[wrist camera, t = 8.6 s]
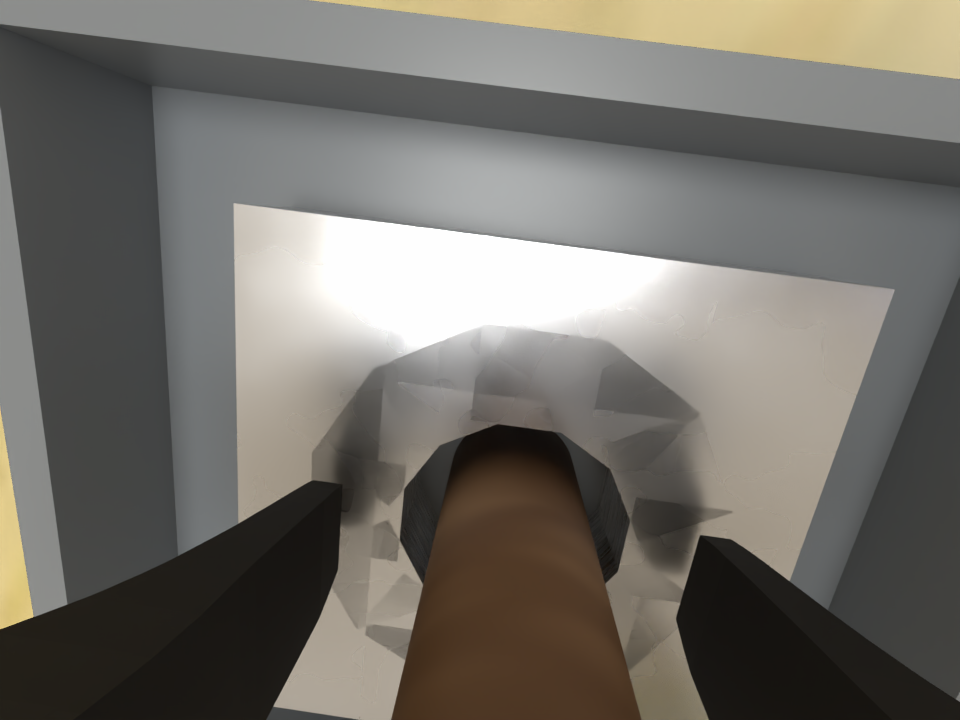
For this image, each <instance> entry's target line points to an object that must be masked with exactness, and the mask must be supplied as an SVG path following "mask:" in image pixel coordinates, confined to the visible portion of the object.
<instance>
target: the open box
mask: <svg viewBox="0 0 960 720" xmlns="http://www.w3.org/2000/svg"><path fill="white" fill-rule="evenodd" d="M234 203H238V204H251V205H264V206H278V207H291V208H299V209H307V210H314V211H322V212H330V213H337V214H345V215H353V216H360V217H368V218H376V219H383V220H391V221H399V222H406V223H414V224H422V225H429V226H437V227H445V228H452V229H460V230H468V231H475V232H483V233H491V234H498V235H506V236H514V237H521V238H529V239H537V240H544V241H552V242H560V243H568V244H575V245H583V246H591V247H598V248H606V249H614V250H621V251H629V252H637V253H644V254H652V255H660V256H667V257H675V258H683V259H690V260H698V261H706V262H713V263H721V264H729V265H736V266H744V267H752V268H759V269H767V270H775V271H782V272H790V273H798V274H805V275H812V276H818V277H824V278H830V279H836V280H842V281H848V282H854V283H860V284H866V285H871V286H877V287H883V288H889V289H895V291H894V294H893V296H892V299H891V302H890V305H889V307H888V310H887V313H886V316H885V318H884V321H883V324H882V327H881V329H880V332H879V335H878V338H877V341H876V343H875V346H874V349H873V352H872V354H871V357H870V360H869V363H868V365H867V368H866V371H865V374H864V377H863V379H862V382H861V385H860V388H859V390H858V393H857V396H856V399H855V401H854V404H853V407H852V410H851V413H850V415H849V418H848V421H847V424H846V426H845V429H844V432H843V435H842V437H841V440H840V443H839V446H838V448H837V451H836V454H835V457H834V460H833V462H832V465H831V468H830V471H829V473H828V476H827V479H826V482H825V484H824V487H823V490H822V493H821V496H820V498H819V501H818V504H817V507H816V509H815V512H814V515H813V518H812V520H811V523H810V526H809V529H808V532H807V534H806V537H805V540H804V543H803V545H802V548H801V551H800V554H799V556H798V559H797V562H796V565H795V567H794V570H793V573H792V576H791V579H790V582H791V583H793V584H794V585H795V586H797V587H798V588H799V589H800V590H802V591H803V592H804V593H806V594H807V595H808V596H810V597H811V598H812V599H814V600H815V601H816V602H818V603H819V604H820V605H822V606H823V607H824V608H826V609H827V610H828V611H830V612H831V613H832V614H834V615H835V616H836V617H838V618H839V619H840V620H842V621H843V622H844V623H846V624H847V625H849V626H850V627H851V628H853V629H854V630H855V631H857V632H858V633H860V634H861V635H862V636H864V637H865V638H866V639H868V640H869V641H871V642H872V643H873V644H875V645H876V646H878V647H879V648H881V649H882V650H883V651H885V652H886V653H888V654H889V655H891V656H892V657H894V658H895V659H896V660H898V661H899V662H901V663H902V664H904V665H905V666H906V667H908V668H909V669H911V670H912V671H914V672H915V673H917V674H918V675H919V676H921V677H922V678H924V679H926V680H927V681H929V682H930V683H932V684H933V685H935V686H936V687H938V688H939V689H941V690H942V691H944V692H945V693H947V694H948V695H950V696H952V697H953V698H955V699H956V700H958V701H959V702H960V79H952V78H944V77H936V76H928V75H919V74H911V73H903V72H895V71H886V70H878V69H870V68H862V67H854V66H845V65H837V64H829V63H821V62H812V61H804V60H796V59H788V58H779V57H771V56H763V55H755V54H747V53H738V52H730V51H722V50H714V49H705V48H697V47H689V46H681V45H672V44H664V43H656V42H648V41H640V40H631V39H623V38H615V37H607V36H598V35H590V34H582V33H574V32H565V31H557V30H549V29H541V28H533V27H524V26H516V25H508V24H500V23H491V22H483V21H475V20H467V19H458V18H450V17H442V16H434V15H426V14H417V13H409V12H401V11H393V10H384V9H376V8H368V7H360V6H351V5H343V4H335V3H327V2H319V1H310V0H0V408H1V415H2V421H3V427H4V433H5V440H6V446H7V452H8V458H9V465H10V471H11V477H12V483H13V490H14V496H15V502H16V508H17V515H18V521H19V527H20V534H21V540H22V546H23V552H24V559H25V565H26V571H27V577H28V584H29V590H30V596H31V602H32V609H33V615H34V617H35V616H38V615H41V614H43V613H46V612H49V611H51V610H54V609H57V608H59V607H62V606H65V605H67V604H70V603H73V602H75V601H78V600H81V599H83V598H86V597H88V596H91V595H93V594H96V593H98V592H100V591H103V590H105V589H107V588H110V587H112V586H114V585H117V584H119V583H121V582H123V581H126V580H128V579H130V578H133V577H135V576H137V575H139V574H142V573H144V572H146V571H148V570H150V569H152V568H154V567H157V566H159V565H161V564H163V563H165V562H167V561H169V560H171V559H173V558H175V557H177V556H179V555H181V554H183V553H185V552H186V551H188V550H190V549H192V548H194V547H196V546H198V545H200V544H202V543H203V542H205V541H207V540H209V539H211V538H213V537H215V536H217V535H219V534H220V533H222V532H224V531H226V530H228V529H230V528H231V527H233V526H235V525H237V524H238V463H237V398H236V332H235V266H234ZM555 433H556V434H557V435H558V436H559V437H560V438H561V439H562V440H563V442H564V443H565V445H566V446H567V448H568V451H569V453H570V456H571V459H572V462H573V466H574V470H575V473H576V477H577V481H578V485H579V488H580V492H581V496H582V499H583V503H584V507H585V511H586V514H587V517H588V516H589V515H590V514H591V513H592V512H593V511H594V510H595V509H596V508H597V507H598V503H599V498H600V493H601V489H602V484H603V480H604V475H605V471H606V466H605V465H604V464H603V463H601V462H600V461H599V460H597V459H596V458H595V457H593V456H592V455H591V454H589V453H588V452H587V451H585V450H584V449H582V448H581V447H580V446H578V445H577V444H576V443H574V442H573V441H572V440H570V439H569V438H568V437H566V436H565V435H564V434H562V433H560V432H555ZM464 437H465V436H463V437H461V438H458V439H455V440H452V441H450V442H447V443H444V444H442V445H439V447H438V448H437V449H436V450H435V452H434V453H433V454H432V455H431V456H430V458H429V459H428V460H427V461H426V463H425V464H424V465H423V466H422V467H421V473H420V484H421V486H422V488H423V490H424V492H425V494H426V496H427V498H428V500H429V502H430V504H431V506H432V508H433V510H434V512H435V514H436V516H437V518H438V520H439V516H440V512H441V508H442V503H443V499H444V495H445V491H446V486H447V482H448V478H449V474H450V470H451V465H452V461H453V457H454V454H455V451H456V449H457V447H458V445H459V444H460V442H461V441H462V439H463V438H464ZM266 720H358V719H352V718H345V717H338V716H332V715H325V714H319V713H312V712H305V711H299V710H292V709H286V708H279V707H273V708H272V710H271V712H270V714H269V716H268V718H267V719H266Z"/></svg>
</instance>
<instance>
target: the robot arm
mask: <svg viewBox="0 0 960 720" xmlns="http://www.w3.org/2000/svg"><path fill="white" fill-rule="evenodd" d="M342 486H343V484H338V483H331V482H324V481H317V480H312V481H310V482H308V483H306V484H304V485H303V486H301V487H299V488H298V489H296V490H294V491H292V492H291V493H289V494H287V495H286V496H284V497H282V498H281V499H279V500H277V501H276V502H274V503H272V504H271V505H269V506H267V507H266V508H264V509H262V510H261V511H259V512H257V513H255V514H254V515H252V516H250V517H249V518H247V519H245V520H244V521H242V522H240V523H238V524H237V525H235V526H233V527H231V528H230V529H228V530H226V531H224V532H222V533H220V534H219V535H217V536H215V537H213V538H211V539H209V540H207V541H205V542H203V543H202V544H200V545H198V546H196V547H194V548H192V549H190V550H188V551H186V552H185V553H183V554H181V555H179V556H177V557H175V558H173V559H171V560H169V561H167V562H165V563H163V564H161V565H159V566H157V567H154V568H152V569H150V570H148V571H146V572H144V573H142V574H139V575H137V576H135V577H133V578H130V579H128V580H126V581H123V582H121V583H119V584H117V585H114V586H112V587H110V588H107V589H105V590H103V591H100V592H98V593H96V594H93V595H91V596H88V597H86V598H83V599H81V600H78V601H75V602H73V603H70V604H67V605H65V606H62V607H59V608H57V609H54V610H51V611H49V612H46V613H43V614H41V615H38V616H35V617H33V618H30V619H27V620H25V621H22V622H19V623H17V624H14V625H11V626H9V627H6V628H3V629H0V720H266V719H267V718H268V716H269V714H270V712H271V710H272V708H273V706H274V704H275V702H276V700H277V699H278V697H279V695H280V693H281V691H282V689H283V687H284V685H285V683H286V681H287V680H288V678H289V676H290V674H291V672H292V670H293V668H294V666H295V664H296V663H297V661H298V659H299V657H300V655H301V653H302V651H303V649H304V647H305V645H306V643H307V641H308V639H309V638H310V636H311V634H312V632H313V630H314V628H315V626H316V624H317V622H318V620H319V618H320V616H321V613H322V611H323V608H324V605H325V603H326V600H327V598H328V595H329V593H330V590H331V587H332V585H333V582H334V579H335V577H336V574H337V571H338V563H339V544H340V525H341V505H342ZM676 622H677V626H678V630H679V634H680V637H681V641H682V645H683V649H684V653H685V656H686V660H687V663H688V667H689V670H690V673H691V676H692V679H693V681H694V684H695V686H696V689H697V691H698V694H699V696H700V699H701V701H702V704H703V706H704V709H705V711H706V714H707V716H708V719H709V720H960V702H959V701H958V700H956V699H955V698H953V697H952V696H950V695H948V694H947V693H945V692H944V691H942V690H941V689H939V688H938V687H936V686H935V685H933V684H932V683H930V682H929V681H927V680H926V679H924V678H922V677H921V676H919V675H918V674H917V673H915V672H914V671H912V670H911V669H909V668H908V667H906V666H905V665H904V664H902V663H901V662H899V661H898V660H896V659H895V658H894V657H892V656H891V655H889V654H888V653H886V652H885V651H883V650H882V649H881V648H879V647H878V646H876V645H875V644H873V643H872V642H871V641H869V640H868V639H866V638H865V637H864V636H862V635H861V634H860V633H858V632H857V631H855V630H854V629H853V628H851V627H850V626H849V625H847V624H846V623H844V622H843V621H842V620H840V619H839V618H838V617H836V616H835V615H834V614H832V613H831V612H830V611H828V610H827V609H826V608H824V607H823V606H822V605H820V604H819V603H818V602H816V601H815V600H814V599H812V598H811V597H810V596H808V595H807V594H806V593H804V592H803V591H802V590H800V589H799V588H798V587H797V586H795V585H794V584H793V583H791V582H790V581H789V580H787V579H786V578H785V577H783V576H782V575H781V574H779V573H778V572H777V571H775V570H774V569H773V568H771V567H770V566H769V565H767V564H766V563H765V562H763V561H762V560H761V559H759V558H758V557H757V556H755V555H754V554H752V553H751V552H750V551H748V550H747V549H745V548H744V547H742V546H741V545H739V544H738V543H736V542H735V541H733V540H731V539H726V538H719V537H712V536H705V535H700V537H699V540H698V544H697V547H696V550H695V554H694V557H693V561H692V564H691V568H690V571H689V575H688V578H687V581H686V585H685V588H684V592H683V595H682V599H681V602H680V606H679V609H678V612H677V616H676Z"/></svg>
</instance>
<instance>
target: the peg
mask: <svg viewBox="0 0 960 720" xmlns="http://www.w3.org/2000/svg"><path fill="white" fill-rule="evenodd" d="M391 720H641V716H640V712H639V709H638V705H637V701H636V697H635V694H634V690H633V686H632V683H631V679H630V675H629V671H628V668H627V664H626V660H625V656H624V653H623V649H622V645H621V641H620V638H619V634H618V630H617V627H616V623H615V619H614V615H613V612H612V608H611V604H610V600H609V597H608V593H607V589H606V585H605V582H604V578H603V574H602V570H601V567H600V563H599V559H598V556H597V552H596V548H595V544H594V541H593V537H592V533H591V529H590V526H589V522H588V518H587V514H586V511H585V507H584V503H583V499H582V496H581V492H580V488H579V485H578V481H577V477H576V473H575V470H574V466H573V462H572V459H571V456H570V453H569V451H568V448H567V446H566V445H565V443H564V442H563V440H562V439H561V438H560V437H559V436H558V435H557V434H556V433H555V432H552V431H545V430H538V429H531V428H524V427H516V426H509V425H502V424H496V425H493V426H491V427H488V428H485V429H482V430H480V431H477V432H474V433H472V434H469V435H466V436H465V437H464V438H463V439H462V441H461V442H460V444H459V445H458V447H457V449H456V451H455V454H454V457H453V461H452V465H451V470H450V474H449V478H448V482H447V486H446V491H445V495H444V499H443V503H442V508H441V512H440V516H439V520H438V524H437V529H436V533H435V537H434V541H433V545H432V550H431V554H430V558H429V562H428V566H427V571H426V575H425V579H424V583H423V587H422V592H421V596H420V600H419V604H418V609H417V613H416V617H415V621H414V625H413V630H412V634H411V638H410V642H409V646H408V651H407V655H406V659H405V663H404V667H403V672H402V676H401V680H400V684H399V688H398V693H397V697H396V701H395V705H394V710H393V714H392V718H391Z"/></svg>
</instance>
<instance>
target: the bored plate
mask: <svg viewBox="0 0 960 720" xmlns="http://www.w3.org/2000/svg"><path fill="white" fill-rule="evenodd" d="M234 266H235V332H236V398H237V463H238V523H240V522H242V521H244V520H245V519H247V518H249V517H250V516H252V515H254V514H255V513H257V512H259V511H261V510H262V509H264V508H266V507H267V506H269V505H271V504H272V503H274V502H276V501H277V500H279V499H281V498H282V497H284V496H286V495H287V494H289V493H291V492H292V491H294V490H296V489H298V488H299V487H301V486H303V485H304V484H306V483H308V482H310V481H312V480H317V481H324V482H331V483H338V484H343V486H342V505H341V525H340V544H339V563H338V571H337V574H336V577H335V579H334V582H333V585H332V587H331V590H330V593H329V595H328V598H327V600H326V603H325V605H324V608H323V611H322V613H321V616H320V618H319V620H318V622H317V624H316V626H315V628H314V630H313V632H312V634H311V636H310V638H309V639H308V641H307V643H306V645H305V647H304V649H303V651H302V653H301V655H300V657H299V659H298V661H297V663H296V664H295V666H294V668H293V670H292V672H291V674H290V676H289V678H288V680H287V681H286V683H285V685H284V687H283V689H282V691H281V693H280V695H279V697H278V699H277V700H276V702H275V704H274V706H273V707H279V708H286V709H292V710H299V711H305V712H312V713H319V714H325V715H332V716H338V717H345V718H352V719H358V720H391V718H392V714H393V710H394V705H395V701H396V697H397V693H398V688H399V684H400V680H401V676H402V672H403V667H404V663H405V659H406V655H407V651H408V646H409V642H410V638H411V634H412V630H413V625H414V621H415V617H416V613H417V609H418V604H419V600H420V596H421V592H422V587H423V583H424V579H425V575H426V571H427V566H428V562H429V558H430V554H431V550H432V545H433V541H434V537H435V533H436V529H437V524H438V518H437V516H436V514H435V512H434V510H433V508H432V506H431V504H430V502H429V500H428V498H427V496H426V494H425V492H424V490H423V488H422V486H421V484H420V473H421V467H422V466H423V465H424V464H425V463H426V461H427V460H428V459H429V458H430V456H431V455H432V454H433V453H434V452H435V450H436V449H437V448H438V447H439V445H442V444H444V443H447V442H450V441H452V440H455V439H458V438H461V437H463V436H466V435H469V434H472V433H474V432H477V431H480V430H482V429H485V428H488V427H491V426H493V425H496V424H502V425H509V426H516V427H524V428H531V429H538V430H545V431H552V432H560V433H562V434H564V435H565V436H566V437H568V438H569V439H570V440H572V441H573V442H574V443H576V444H577V445H578V446H580V447H581V448H582V449H584V450H585V451H587V452H588V453H589V454H591V455H592V456H593V457H595V458H596V459H597V460H599V461H600V462H601V463H603V464H604V465H605V466H606V471H605V475H604V480H603V484H602V489H601V493H600V498H599V503H598V507H597V508H596V509H595V510H594V511H593V512H592V513H591V514H590V515H589V516H588V517H587V518H588V522H589V526H590V529H591V533H592V537H593V541H594V544H595V548H596V552H597V556H598V559H599V563H600V567H601V570H602V574H603V578H604V582H605V585H606V589H607V593H608V597H609V600H610V604H611V608H612V612H613V615H614V619H615V623H616V627H617V630H618V634H619V638H620V641H621V645H622V649H623V653H624V656H625V660H626V664H627V668H628V671H629V675H630V679H631V683H632V686H633V690H634V694H635V697H636V701H637V705H638V709H639V712H640V716H641V720H709V719H708V716H707V714H706V711H705V709H704V706H703V704H702V701H701V699H700V696H699V694H698V691H697V689H696V686H695V684H694V681H693V679H692V676H691V673H690V670H689V667H688V663H687V660H686V656H685V653H684V649H683V645H682V641H681V637H680V634H679V630H678V626H677V622H676V616H677V612H678V609H679V606H680V602H681V599H682V595H683V592H684V588H685V585H686V581H687V578H688V575H689V571H690V568H691V564H692V561H693V557H694V554H695V550H696V547H697V544H698V540H699V537H700V535H705V536H712V537H719V538H726V539H731V540H733V541H735V542H736V543H738V544H739V545H741V546H742V547H744V548H745V549H747V550H748V551H750V552H751V553H752V554H754V555H755V556H757V557H758V558H759V559H761V560H762V561H763V562H765V563H766V564H767V565H769V566H770V567H771V568H773V569H774V570H775V571H777V572H778V573H779V574H781V575H782V576H783V577H785V578H786V579H787V580H789V581H790V579H791V576H792V573H793V570H794V567H795V565H796V562H797V559H798V556H799V554H800V551H801V548H802V545H803V543H804V540H805V537H806V534H807V532H808V529H809V526H810V523H811V520H812V518H813V515H814V512H815V509H816V507H817V504H818V501H819V498H820V496H821V493H822V490H823V487H824V484H825V482H826V479H827V476H828V473H829V471H830V468H831V465H832V462H833V460H834V457H835V454H836V451H837V448H838V446H839V443H840V440H841V437H842V435H843V432H844V429H845V426H846V424H847V421H848V418H849V415H850V413H851V410H852V407H853V404H854V401H855V399H856V396H857V393H858V390H859V388H860V385H861V382H862V379H863V377H864V374H865V371H866V368H867V365H868V363H869V360H870V357H871V354H872V352H873V349H874V346H875V343H876V341H877V338H878V335H879V332H880V329H881V327H882V324H883V321H884V318H885V316H886V313H887V310H888V307H889V305H890V302H891V299H892V296H893V294H894V291H895V289H889V288H883V287H877V286H871V285H866V284H860V283H854V282H848V281H842V280H836V279H830V278H824V277H818V276H812V275H805V274H798V273H790V272H782V271H775V270H767V269H759V268H752V267H744V266H736V265H729V264H721V263H713V262H706V261H698V260H690V259H683V258H675V257H667V256H660V255H652V254H644V253H637V252H629V251H621V250H614V249H606V248H598V247H591V246H583V245H575V244H568V243H560V242H552V241H544V240H537V239H529V238H521V237H514V236H506V235H498V234H491V233H483V232H475V231H468V230H460V229H452V228H445V227H437V226H429V225H422V224H414V223H406V222H399V221H391V220H383V219H376V218H368V217H360V216H353V215H345V214H337V213H330V212H322V211H314V210H307V209H299V208H291V207H278V206H264V205H251V204H238V203H234Z"/></svg>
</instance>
